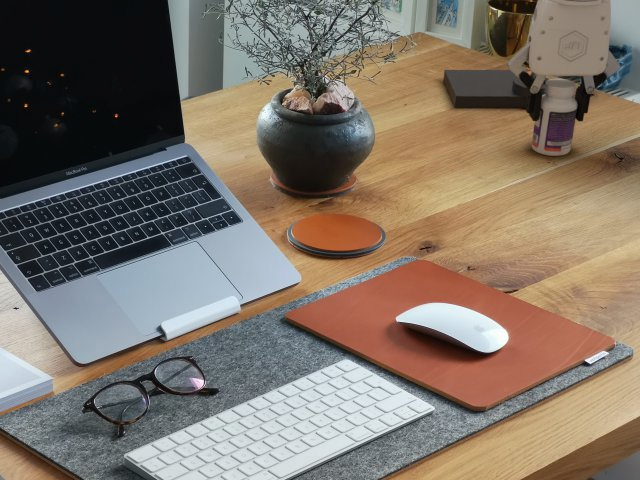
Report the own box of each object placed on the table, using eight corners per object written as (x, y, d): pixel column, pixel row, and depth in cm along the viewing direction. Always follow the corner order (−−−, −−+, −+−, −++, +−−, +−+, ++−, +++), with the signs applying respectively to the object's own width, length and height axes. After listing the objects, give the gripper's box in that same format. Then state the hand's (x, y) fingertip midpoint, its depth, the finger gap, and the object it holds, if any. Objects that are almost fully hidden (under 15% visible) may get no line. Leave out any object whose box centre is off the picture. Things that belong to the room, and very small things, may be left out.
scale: (535, 81, 181) (538, 60, 179) (553, 110, 169) (557, 88, 168) (443, 80, 181) (445, 60, 179) (455, 109, 170) (458, 88, 168)
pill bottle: (577, 149, 157) (588, 82, 152) (558, 160, 153) (568, 92, 148) (543, 138, 160) (553, 73, 155) (523, 149, 156) (533, 83, 151)
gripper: (515, -6, 142) (498, 127, 151) (650, -5, 142) (625, 128, 151) (504, -22, 148) (488, 107, 157) (633, -21, 148) (609, 108, 157)
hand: (555, 116), depth 154 cm, fingers closed on pill bottle, 5 cm apart
